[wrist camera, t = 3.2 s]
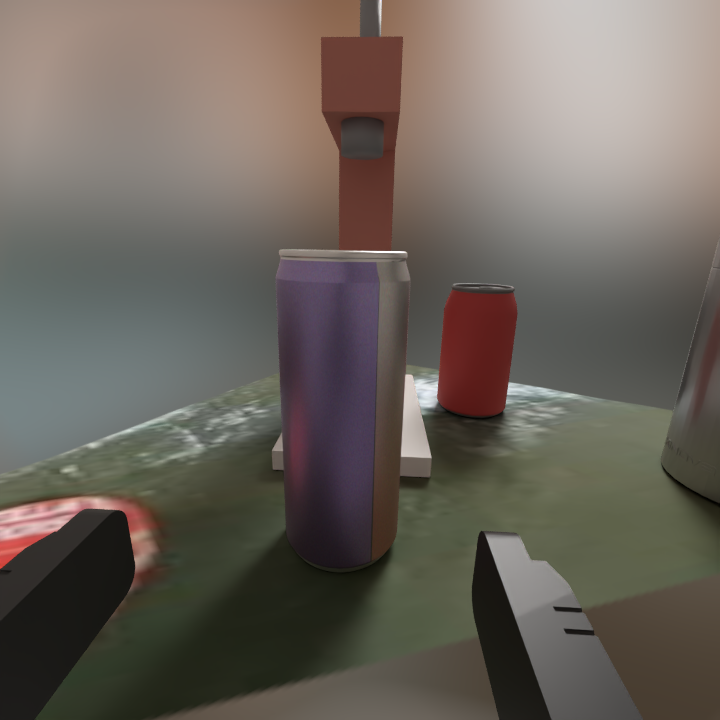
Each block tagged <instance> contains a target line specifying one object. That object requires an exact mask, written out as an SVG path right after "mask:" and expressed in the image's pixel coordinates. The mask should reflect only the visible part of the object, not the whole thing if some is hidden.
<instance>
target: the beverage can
mask: <svg viewBox="0 0 720 720" xmlns="http://www.w3.org/2000/svg"><path fill="white" fill-rule="evenodd" d="M279 255H280V256H281V260H280V264H279V268H278V271H277V274H276V300H277V324H278V347H279V372H280V396H281V420H282V444H283V468H284V492H285V516H286V534H287V538H288V541H289V543H290V545H291V546H292V548H293V549H294V550H295V551H296V553H297V554H298V555H299V556H300V557H301V558H302V559H303V560H304V561H306V562H307V563H309V564H310V565H312V566H314V567H316V568H319V569H322V570H325V571H330V572H351V571H356V570H359V569H362V568H365V567H367V566H369V565H371V564H373V563H374V562H376V561H377V560H378V559H380V558H381V557H382V556H383V555H384V554H385V552H386V551H387V550H388V549H389V548H390V546H391V545H392V543H393V542H394V540H395V537H396V533H397V521H398V502H399V484H400V465H401V447H402V428H403V409H404V391H405V372H406V354H407V334H408V316H409V296H410V276H409V272H408V268H407V265H406V258H407V252H398V251H357V250H298V249H297V250H294V249H281V250H280V251H279Z"/></svg>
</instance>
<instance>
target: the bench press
mask: <svg viewBox="0 0 720 720" xmlns="http://www.w3.org/2000/svg"><path fill="white" fill-rule="evenodd" d="M381 4H382V0H361V3H360V5H361V7H360V37H322V38H321V63H322V64H321V65H322V67H321V68H322V113H323V115H324V117H325V119H326V122H327V124H328V126H329V129H330V131H331V133H332V135H333V138H334V140H335V142H336V144H337V147H338V149H339V160H340V161H339V164H340V165H339V167H340V168H339V170H340V171H339V172H340V173H339V177H340V178H339V250H357V251H391V239H392V237H391V236H392V212H393V186H394V160H395V146H396V139H397V130H398V122H399V114H400V95H401V70H402V47H403V46H402V45H403V37H381ZM431 460H432V457H431V453H430V449H429V444H428V440H427V436H426V432H425V427H424V423H423V419H422V414H421V410H420V406H419V401H418V397H417V393H416V389H415V384H414V380H413V376H412V375H405V391H404V409H403V428H402V447H401V465H400V476H413V477H430V473H431ZM272 463H273V470H284V468H283V444H282V433H281V435H280V437H279V439H278V440H277V442H276V444H275V446H274V448H273V450H272Z"/></svg>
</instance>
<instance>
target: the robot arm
mask: <svg viewBox="0 0 720 720" xmlns="http://www.w3.org/2000/svg"><path fill="white" fill-rule="evenodd" d="M712 267H713V268H711V272H710V275H709V279H708V283H707V287H706V291H705V295H704V298H703V302H702V306H701V309H700V313H699V317H698V321H697V324H696V328H695V332H694V336H693V340H692V343H691V347H690V351H689V355H688V358H687V362H686V366H685V370H684V374H683V377H682V382H681V385H680V389H679V393H678V396H677V400H676V404H675V408H674V411H673V415H672V418H671V422H670V426H669V430H668V434H667V437H666V441H665V445H664V449H663V452H662V456H661V462H662V465H663V467H664V468H665V470H666V471H667V472H668V473H669V474H670V475H671V476H673V477H674V478H675V479H676V480H678V481H679V482H681V483H682V484H683V485H685V486H686V487H688V488H690V489H692V490H693V491H695V492H697V493H699V494H701V495H702V496H705V497H707V498H709V499H711V500H713V501H716V502H718V503H720V237H719V241H718V245H717V248H716V253H715V256H714V260H713V263H712ZM134 574H135V561H134V555H133V550H132V544H131V538H130V533H129V527H128V522H127V517H126V515H125V513H124V512H123V511H120V510H104V509H85V510H82V511H81V512H79V513H78V514H77V515H76V516H74V517H73V518H72V519H71V520H70V521H69V522H68V523H66V524H65V525H64V526H63V527H62V528H61V529H59V530H58V531H57V532H53V533H52V534H50V535H48V536H46V537H45V538H43V539H41V540H39V541H38V542H36V543H34V544H32V545H31V546H29V547H27V548H25V549H24V550H23V551H22V552H20V553H19V554H18V555H17V556H16V557H14V558H13V559H12V560H11V561H10V562H9V563H7V564H6V565H5V566H4V567H3V568H1V569H0V720H34V719H35V718H36V717H37V715H38V714H39V713H40V711H41V710H42V709H43V707H44V706H45V705H46V703H47V702H48V700H49V699H50V698H51V696H52V695H53V694H54V692H55V691H56V690H57V688H58V687H59V686H60V684H61V683H62V682H63V680H64V679H65V677H66V676H67V675H68V673H69V672H70V671H71V669H72V668H73V667H74V665H75V664H76V663H77V661H78V660H79V659H80V657H81V656H82V654H83V653H84V652H85V650H86V649H87V648H88V646H89V645H90V644H91V642H92V641H93V640H94V638H95V637H96V636H97V634H98V633H99V631H100V630H101V629H102V627H103V626H104V625H105V623H106V622H107V621H108V619H109V618H110V617H111V615H112V614H113V613H114V611H115V610H116V608H117V607H118V606H119V604H120V603H121V602H122V600H123V599H124V598H125V596H126V595H127V593H128V591H129V589H130V587H131V584H132V582H133V578H134ZM472 605H473V613H474V619H475V623H476V627H477V631H478V635H479V639H480V643H481V647H482V651H483V655H484V659H485V664H486V668H487V672H488V676H489V680H490V684H491V688H492V692H493V696H494V700H495V704H496V708H497V712H498V716H499V720H643V718H642V717H641V715H640V713H639V711H638V710H637V708H636V706H635V704H634V702H633V701H632V699H631V697H630V695H629V693H628V691H627V689H626V688H625V686H624V684H623V682H622V680H621V679H620V677H619V675H618V673H617V671H616V670H615V668H614V666H613V664H612V662H611V660H610V659H609V657H608V655H607V653H606V651H605V650H604V648H603V646H602V644H601V642H600V641H599V639H598V637H597V636H595V635H594V630H593V628H592V626H591V624H590V622H589V621H588V619H587V617H586V615H585V614H584V613H582V608H581V606H580V604H579V603H578V601H577V599H576V597H575V595H574V593H573V592H572V590H571V588H570V586H569V584H568V583H567V582H566V581H565V580H564V579H563V578H562V577H561V576H560V575H559V574H558V573H557V572H556V571H555V570H554V569H553V568H552V567H551V566H550V565H549V564H548V563H547V562H546V561H536V560H531V559H530V557H529V555H528V553H527V551H526V549H525V547H524V545H523V542H522V540H521V538H520V537H519V535H518V534H517V533H510V532H491V531H481V532H480V533H479V536H478V543H477V551H476V559H475V567H474V575H473V583H472Z"/></svg>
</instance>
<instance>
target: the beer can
mask: <svg viewBox="0 0 720 720" xmlns="http://www.w3.org/2000/svg"><path fill="white" fill-rule="evenodd" d="M514 290H515V289H514V287H511V286H506V285H496V284H475V283H474V284H473V283H464V284H454V285H452V291H451V293H450V295H449V297H448V299H447V301H446V305H445V308H444V319H443V331H442V344H441V356H440V369H439V382H438V394H437V399H438V401H439V404H440V405H441V406H442V407H443V408H445V409H446V410H447V411H449V412H452V413H454V414H457V415H460V416H465V417H471V418H486V417H492V416H495V415H498V414H499V413H500V412H502V411H503V410H504V409H505V404H506V397H507V389H508V382H509V373H510V366H511V359H512V351H513V344H514V336H515V329H516V321H517V304H516V301H515V297H514V293H513V291H514Z"/></svg>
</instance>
